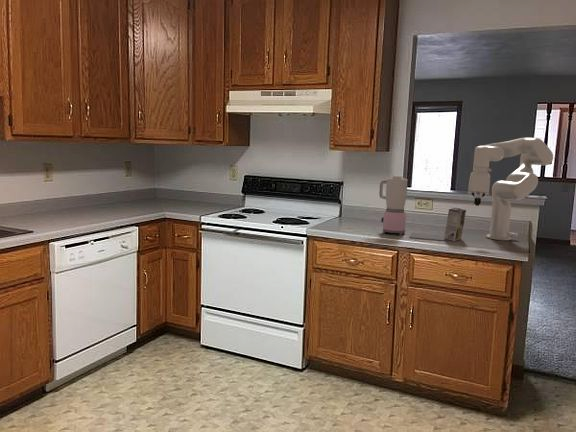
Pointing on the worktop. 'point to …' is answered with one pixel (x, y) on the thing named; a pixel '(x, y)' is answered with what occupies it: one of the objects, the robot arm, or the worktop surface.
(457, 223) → the coffee box
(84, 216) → the worktop surface
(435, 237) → the mat
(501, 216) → the robot arm
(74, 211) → the worktop surface
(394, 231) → the blender
